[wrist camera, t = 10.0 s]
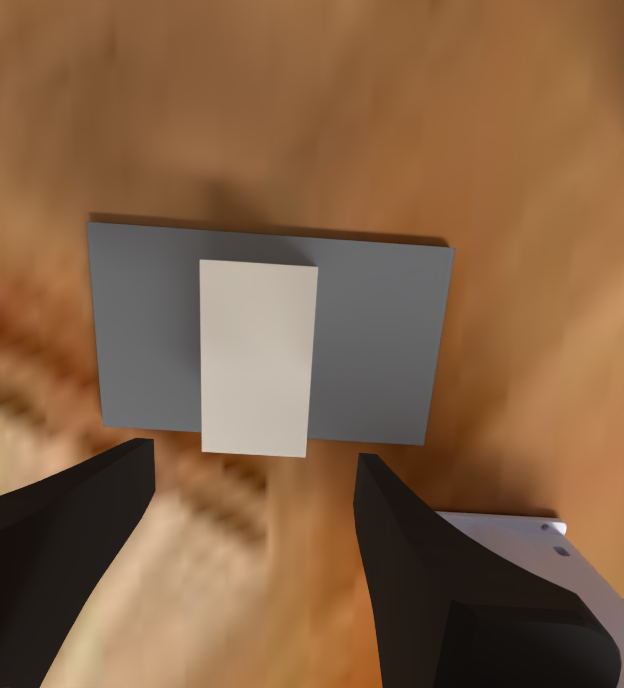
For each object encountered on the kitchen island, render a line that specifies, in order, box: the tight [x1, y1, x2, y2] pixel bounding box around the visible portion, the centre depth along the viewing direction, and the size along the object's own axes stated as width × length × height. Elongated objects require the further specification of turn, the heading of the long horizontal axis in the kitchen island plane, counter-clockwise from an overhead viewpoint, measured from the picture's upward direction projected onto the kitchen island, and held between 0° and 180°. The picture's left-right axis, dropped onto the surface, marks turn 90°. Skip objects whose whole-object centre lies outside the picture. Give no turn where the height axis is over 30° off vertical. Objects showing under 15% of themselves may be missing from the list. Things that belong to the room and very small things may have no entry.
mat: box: [86, 222, 455, 446], centre depth 20 cm, size 20×12×1 cm, turn 86°
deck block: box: [200, 259, 318, 457], centre depth 17 cm, size 9×5×4 cm, turn 176°
